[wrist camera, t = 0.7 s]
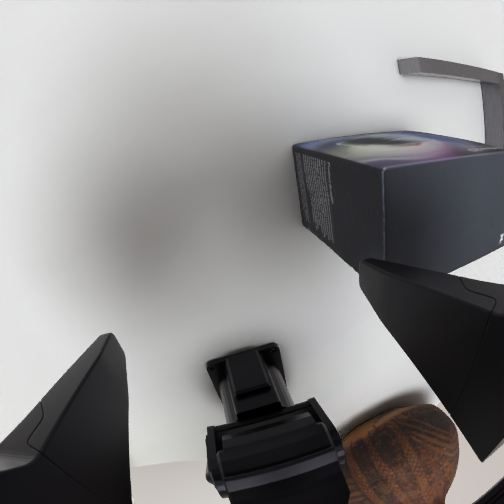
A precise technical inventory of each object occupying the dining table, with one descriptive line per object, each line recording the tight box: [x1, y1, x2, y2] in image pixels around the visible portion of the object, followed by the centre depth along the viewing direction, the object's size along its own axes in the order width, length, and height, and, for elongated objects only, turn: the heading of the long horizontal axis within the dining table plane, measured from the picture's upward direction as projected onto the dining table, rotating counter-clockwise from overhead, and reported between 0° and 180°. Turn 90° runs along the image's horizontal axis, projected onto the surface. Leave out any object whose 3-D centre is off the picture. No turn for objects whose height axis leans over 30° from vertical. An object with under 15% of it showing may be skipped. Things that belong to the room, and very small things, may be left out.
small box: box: [293, 131, 504, 274], centre depth 17 cm, size 11×6×10 cm, turn 101°
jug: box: [341, 404, 459, 504], centre depth 26 cm, size 22×22×30 cm
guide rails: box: [398, 57, 504, 149], centre depth 21 cm, size 17×13×2 cm
